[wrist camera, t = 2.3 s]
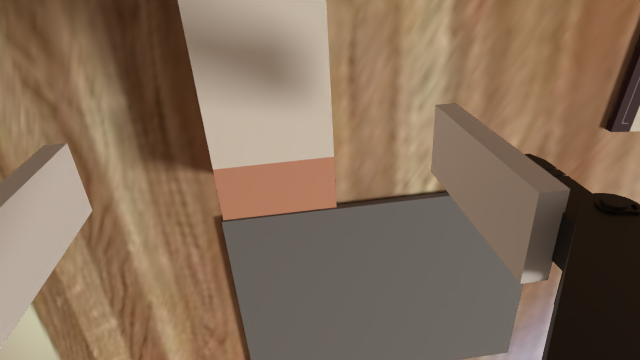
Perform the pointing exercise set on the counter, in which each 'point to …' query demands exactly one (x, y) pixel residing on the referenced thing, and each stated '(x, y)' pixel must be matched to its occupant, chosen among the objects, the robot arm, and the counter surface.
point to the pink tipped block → (264, 102)
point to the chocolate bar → (628, 99)
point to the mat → (371, 283)
